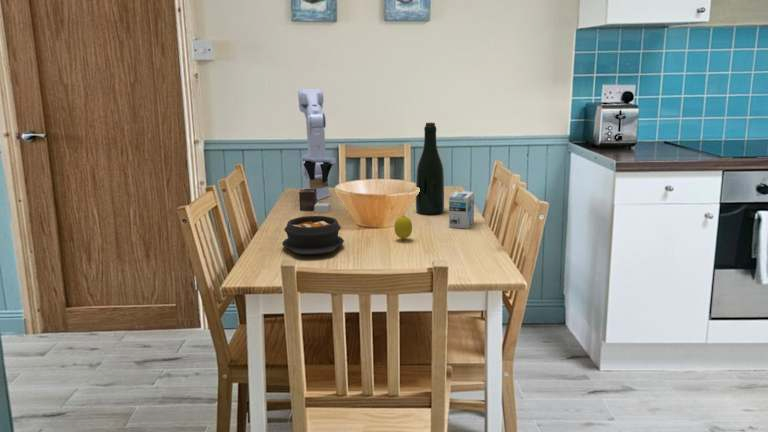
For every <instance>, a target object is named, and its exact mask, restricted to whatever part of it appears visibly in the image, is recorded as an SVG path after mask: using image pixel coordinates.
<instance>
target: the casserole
mask: <svg viewBox="0 0 768 432" xmlns="http://www.w3.org/2000/svg"><path fill="white" fill-rule="evenodd" d="M341 228H342V227H341V225H340V223H339V222H338V220H337V219H336V218H334V217H331V216H324V215H307V216H299V217H295V218H292V219H289V220H288V221H287V224H286V226H285V228H284V232H285V233H286V235H287V238H285V239H284V240H283V241H282V244H281V245H282V246H283V247H284V248H287V249H289V250H290V251H292V252H293V253H295V254H297V255H307V256H308V255H323V254H329V253H333V252H335V250H337V248H338V247H340V246H342V245H343V244H344V242H345V240H344V239H343V238H342V237H341V236H339V231H340V230H341Z"/></svg>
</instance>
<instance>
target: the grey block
mask: <svg viewBox="0 0 768 432" xmlns="http://www.w3.org/2000/svg"><path fill="white" fill-rule="evenodd" d="M330 203H331V202H328V203H318V202H317V203H316V204H315V205H314V210H313V212H314V214H315V213H316V214H323V213H324V214H329V212H330V211H331V205H330Z"/></svg>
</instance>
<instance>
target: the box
mask: <svg viewBox="0 0 768 432" xmlns="http://www.w3.org/2000/svg"><path fill="white" fill-rule="evenodd" d="M298 198H299V211H302V212H304V211H314V205H315V204H316V203H318V200H317V193H316V189H306V188H301V189H300V190H299V191H298Z"/></svg>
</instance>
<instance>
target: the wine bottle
mask: <svg viewBox="0 0 768 432" xmlns="http://www.w3.org/2000/svg"><path fill="white" fill-rule="evenodd" d="M437 129H438V128H437V126H436V123H435V122H426V123H425V125H424V129H423V130H424V131H423V132H424V136H423V137H424V138H423V149H422V152H421V155H420V158H419V160H418V163H417V166H416V174H415V175H416V178H415V179H416V180H415V183H416V184H415V188H416V187H419V188H420V192H419V194H418V195H417V196H416V195H415V211H416V212H417V213H418V214H420V215H428V216H429V215H431V216H432V215H441V214H442V213H443V212H444V211H445V172H444V171H445V170H444V165H443V162H442V159H441V156H440V153H439V150H438V145H437Z"/></svg>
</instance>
